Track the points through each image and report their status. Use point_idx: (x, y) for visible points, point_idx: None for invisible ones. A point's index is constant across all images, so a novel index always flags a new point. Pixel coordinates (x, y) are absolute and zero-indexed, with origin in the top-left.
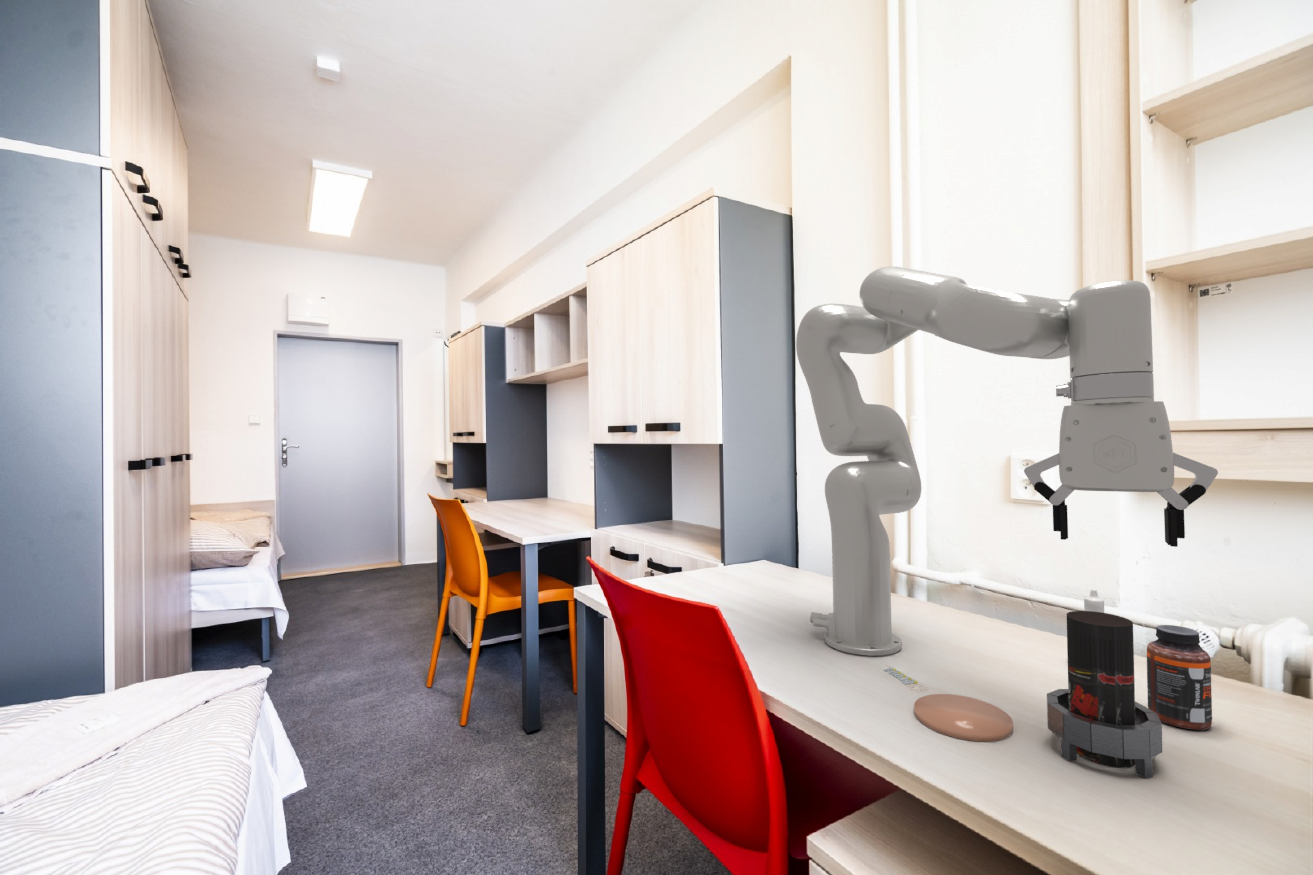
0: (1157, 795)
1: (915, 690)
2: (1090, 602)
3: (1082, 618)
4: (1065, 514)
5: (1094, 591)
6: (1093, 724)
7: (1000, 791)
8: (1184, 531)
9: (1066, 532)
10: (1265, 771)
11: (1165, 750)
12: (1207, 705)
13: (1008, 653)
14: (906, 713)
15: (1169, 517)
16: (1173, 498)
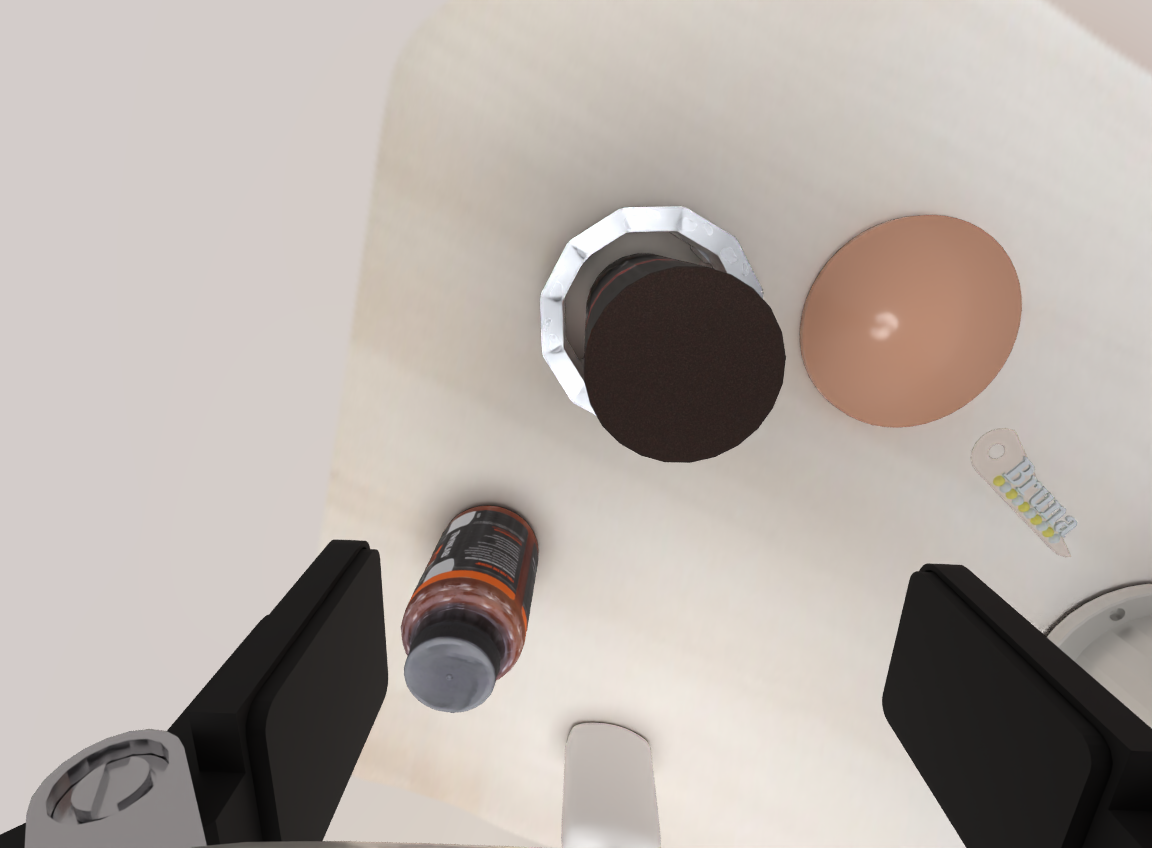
0: (569, 173)
1: (1001, 434)
2: None
3: (737, 339)
4: (1052, 688)
5: None
6: (677, 207)
7: (849, 3)
8: (253, 630)
9: (946, 593)
10: (390, 387)
11: (531, 388)
12: (439, 543)
13: (775, 754)
14: (1029, 288)
15: (283, 667)
16: (124, 840)
